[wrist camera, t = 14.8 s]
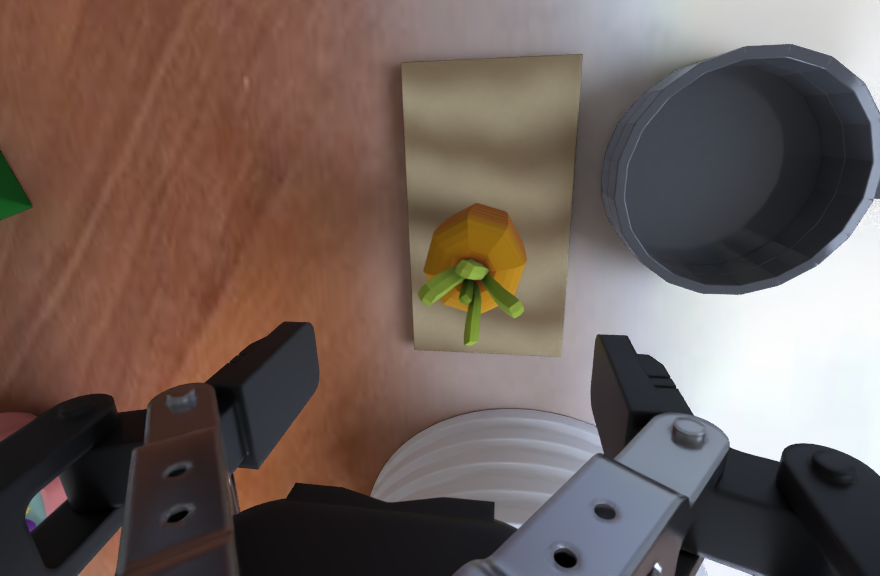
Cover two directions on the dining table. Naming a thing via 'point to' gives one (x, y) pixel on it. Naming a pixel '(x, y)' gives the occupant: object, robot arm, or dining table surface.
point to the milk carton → (10, 192)
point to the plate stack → (492, 461)
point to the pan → (743, 168)
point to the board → (494, 184)
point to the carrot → (475, 265)
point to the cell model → (50, 495)
